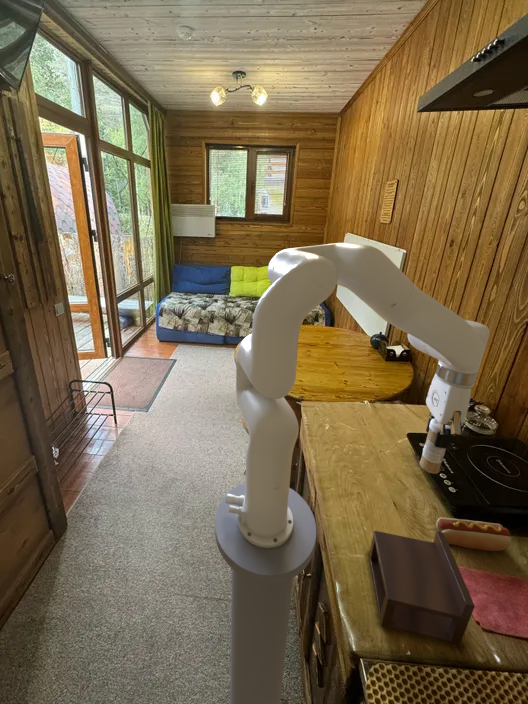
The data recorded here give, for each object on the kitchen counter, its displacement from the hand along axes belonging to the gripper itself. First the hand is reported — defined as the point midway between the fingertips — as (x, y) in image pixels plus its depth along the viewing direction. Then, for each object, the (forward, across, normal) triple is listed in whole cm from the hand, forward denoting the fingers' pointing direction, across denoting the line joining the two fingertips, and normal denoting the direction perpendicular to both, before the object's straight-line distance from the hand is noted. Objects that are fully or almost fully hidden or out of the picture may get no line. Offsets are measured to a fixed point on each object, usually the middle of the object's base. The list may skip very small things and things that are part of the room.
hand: (437, 439), depth 76 cm
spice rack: (+15, +28, -11) cm, 34 cm away
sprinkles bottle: (+9, 0, 0) cm, 9 cm away
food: (+15, +14, +5) cm, 21 cm away
